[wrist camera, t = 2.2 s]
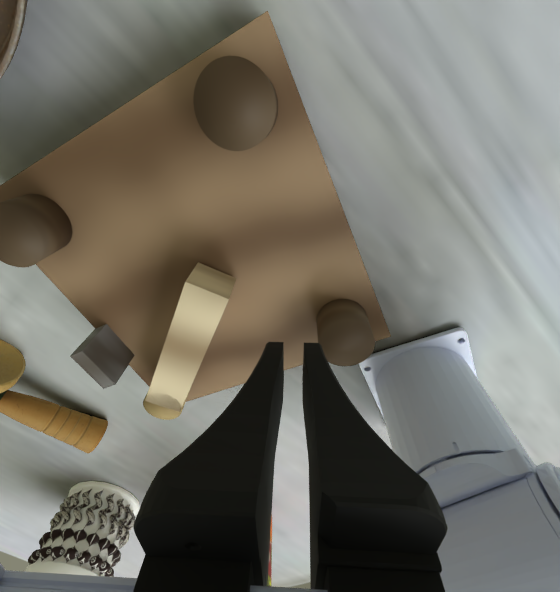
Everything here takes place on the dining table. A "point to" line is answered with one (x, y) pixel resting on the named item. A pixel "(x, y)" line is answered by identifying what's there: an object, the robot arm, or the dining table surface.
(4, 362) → the kendama
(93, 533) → the decorative candle
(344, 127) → the dining table surface
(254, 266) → the stool seat
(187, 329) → the hinged leg
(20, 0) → the plant saucer
